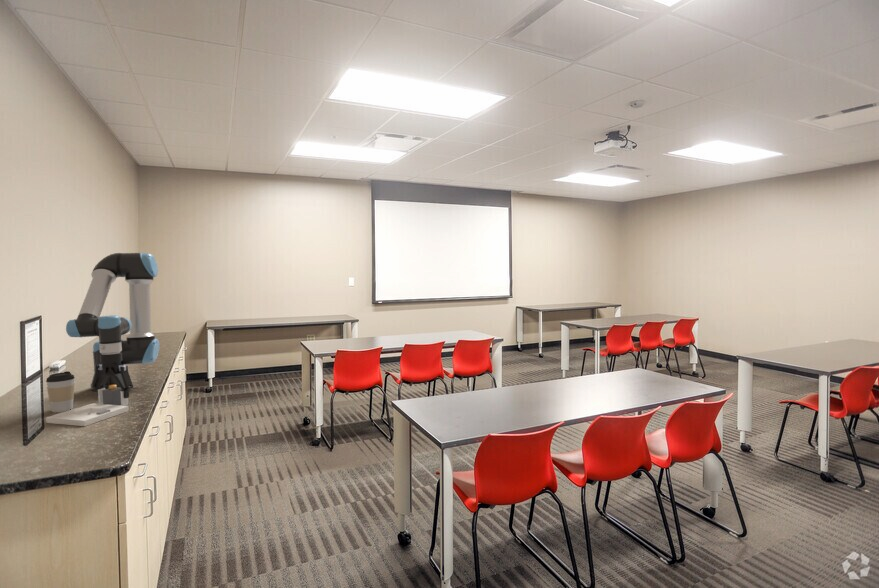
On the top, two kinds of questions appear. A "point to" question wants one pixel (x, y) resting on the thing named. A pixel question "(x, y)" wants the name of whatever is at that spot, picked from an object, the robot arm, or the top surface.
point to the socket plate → (87, 414)
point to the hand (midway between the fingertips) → (113, 404)
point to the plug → (112, 395)
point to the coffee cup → (61, 391)
